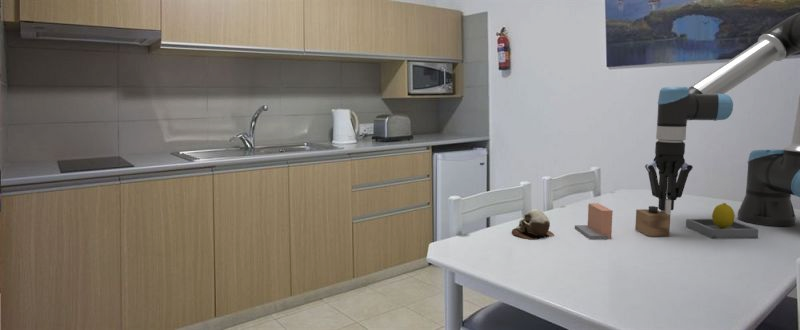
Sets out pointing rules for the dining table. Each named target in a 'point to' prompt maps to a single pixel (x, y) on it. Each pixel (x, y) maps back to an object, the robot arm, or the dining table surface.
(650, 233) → the wooden block with knob
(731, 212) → the lemon
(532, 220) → the skull
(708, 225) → the tray
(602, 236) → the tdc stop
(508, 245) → the dining table surface
